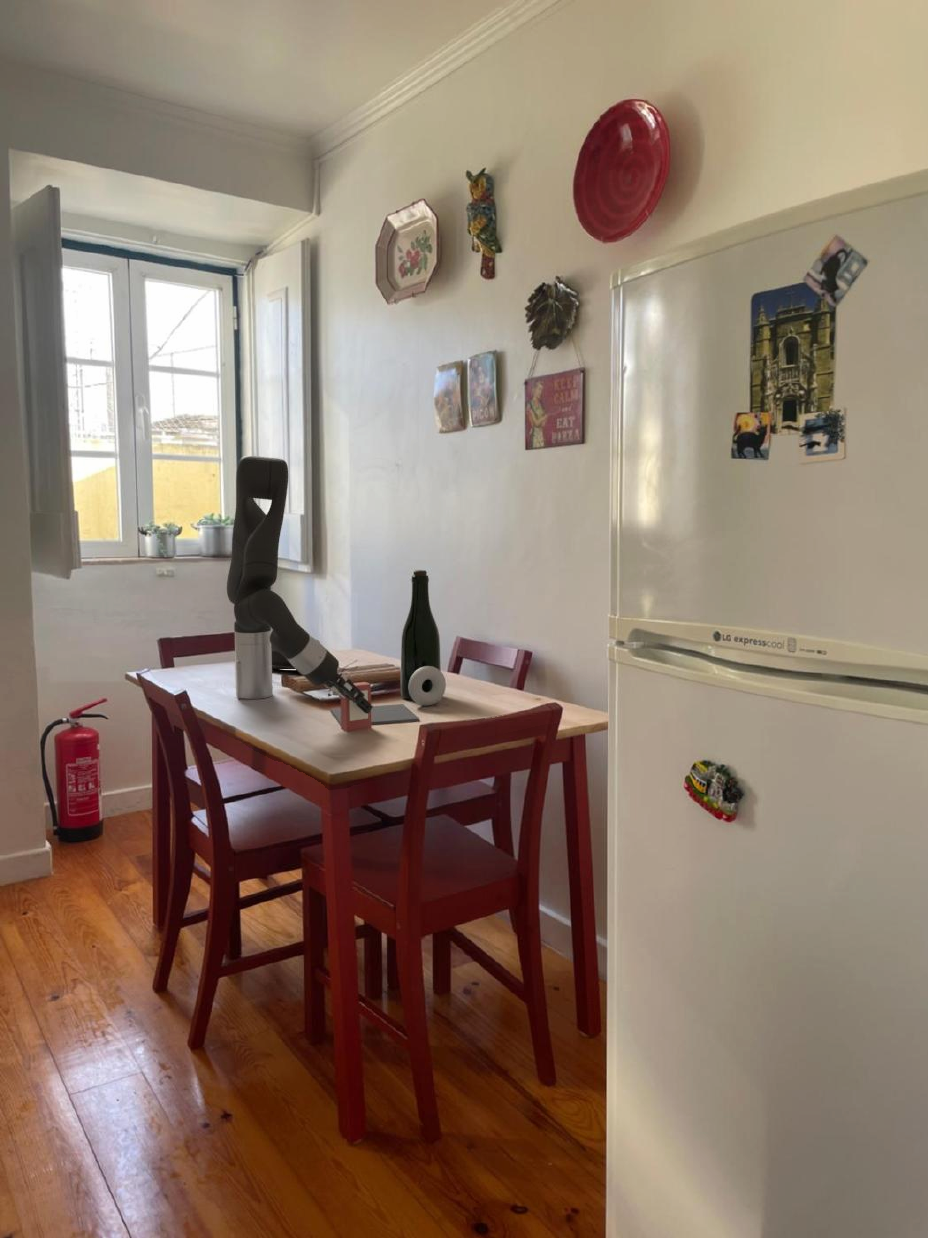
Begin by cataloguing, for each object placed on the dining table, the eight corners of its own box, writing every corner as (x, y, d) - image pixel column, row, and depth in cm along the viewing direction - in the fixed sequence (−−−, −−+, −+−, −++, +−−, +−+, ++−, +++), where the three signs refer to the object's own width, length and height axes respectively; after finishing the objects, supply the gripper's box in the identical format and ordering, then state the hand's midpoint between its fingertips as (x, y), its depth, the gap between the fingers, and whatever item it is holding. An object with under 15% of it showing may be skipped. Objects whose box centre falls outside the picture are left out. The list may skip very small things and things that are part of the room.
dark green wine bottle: (397, 694, 236) (395, 569, 232) (435, 692, 239) (434, 568, 235) (405, 702, 226) (404, 572, 222) (445, 700, 229) (445, 571, 225)
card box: (346, 731, 197) (345, 686, 196) (341, 728, 200) (340, 684, 199) (371, 728, 200) (370, 684, 199) (365, 725, 203) (365, 681, 202)
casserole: (247, 666, 278) (247, 640, 277) (300, 659, 290) (299, 634, 289) (290, 678, 259) (289, 649, 258) (343, 670, 272) (343, 642, 271)
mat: (341, 726, 201) (341, 724, 201) (330, 711, 216) (330, 709, 216) (419, 721, 207) (419, 718, 206) (402, 706, 222) (402, 704, 222)
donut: (442, 702, 226) (442, 663, 225) (448, 705, 223) (448, 665, 222) (406, 706, 222) (405, 666, 221) (411, 709, 219) (411, 668, 217)
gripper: (337, 651, 188) (388, 700, 196) (310, 642, 200) (359, 689, 208) (314, 678, 186) (367, 727, 194) (288, 668, 198) (339, 714, 206)
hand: (363, 707), depth 201 cm, fingers open, 5 cm apart
